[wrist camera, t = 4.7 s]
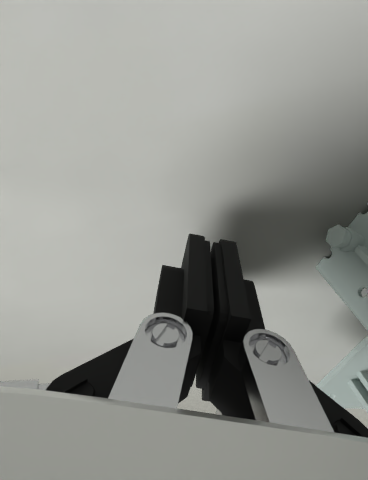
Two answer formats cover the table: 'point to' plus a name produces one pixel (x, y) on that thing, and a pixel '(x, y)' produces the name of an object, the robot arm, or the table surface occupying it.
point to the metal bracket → (364, 308)
